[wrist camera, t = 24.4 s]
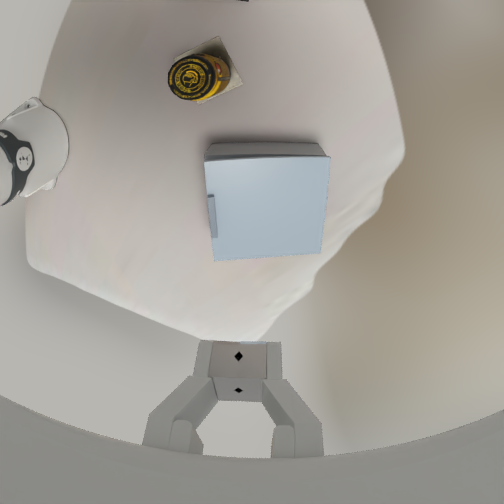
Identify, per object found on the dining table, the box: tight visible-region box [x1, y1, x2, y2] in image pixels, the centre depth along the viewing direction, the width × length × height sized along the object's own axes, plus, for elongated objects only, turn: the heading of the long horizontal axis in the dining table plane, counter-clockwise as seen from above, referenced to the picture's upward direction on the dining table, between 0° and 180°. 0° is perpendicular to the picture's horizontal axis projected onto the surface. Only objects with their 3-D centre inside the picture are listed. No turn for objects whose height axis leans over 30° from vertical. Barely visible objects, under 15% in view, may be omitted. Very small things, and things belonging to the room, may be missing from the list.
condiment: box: [168, 36, 243, 105], centre depth 31 cm, size 7×8×12 cm
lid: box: [204, 156, 331, 261], centre depth 39 cm, size 16×15×2 cm
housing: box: [204, 142, 326, 160], centre depth 44 cm, size 16×15×6 cm
